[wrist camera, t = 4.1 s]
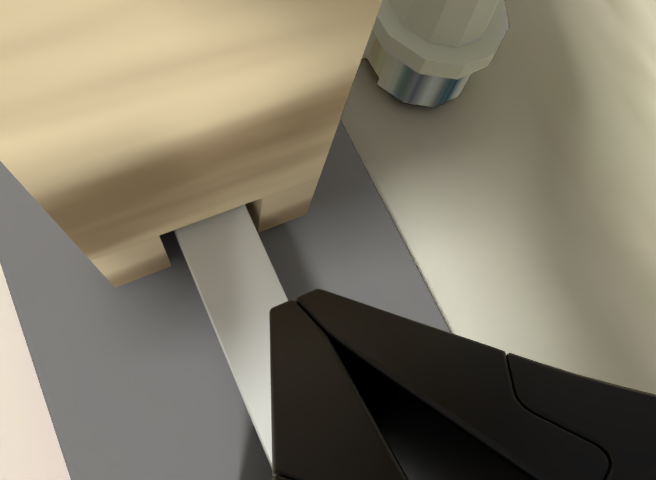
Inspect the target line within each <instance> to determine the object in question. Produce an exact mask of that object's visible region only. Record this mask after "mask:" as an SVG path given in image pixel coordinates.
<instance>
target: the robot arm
mask: <svg viewBox="0 0 656 480" xmlns="http://www.w3.org/2000/svg"><path fill="white" fill-rule="evenodd" d="M269 323H270V376H271V430H272V475H273V478H272V480H656V395H655V394H651V393H647V392H643V391H639V390H635V389H631V388H626V387H622V386H619V385H615V384H611V383H607V382H604V381H600V380H596V379H593V378H589V377H585V376H581V375H578V374H574V373H571V372H568V371H564V370H561V369H558V368H555V367H552V366H548V365H545V364H542V363H539V362H536V361H533V360H530V359H527V358H524V357H521V356H518V355H515V354H512V353H508V354H507V356H506V353H505V352H504V351H503V350H500V349H497V348H494V347H491V346H488V345H485V344H482V343H479V342H476V341H473V340H470V339H467V338H464V337H461V336H458V335H455V334H452V333H449V332H446V331H444V330H441V329H438V328H435V327H432V326H429V325H426V324H423V323H420V322H417V321H414V320H411V319H408V318H405V317H402V316H399V315H396V314H393V313H390V312H387V311H384V310H382V309H379V308H376V307H373V306H370V305H367V304H364V303H361V302H358V301H355V300H352V299H349V298H346V297H343V296H340V295H337V294H334V293H331V292H328V291H325V290H322V289H314V290H312V291H310V292H307V293H305V294H303V295H300V296H298V297H297V298H296V300H295V301H294V300H289V301H286V302H284V303H282V304H279V305H277V306H275V307H273V308H271V309H270V312H269Z"/></svg>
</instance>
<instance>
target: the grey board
mask: <svg viewBox="0 0 656 480" xmlns="http://www.w3.org/2000/svg"><path fill="white" fill-rule="evenodd" d="M160 239H161V241H162V244H163V246H164V249H165V251H166V254H167V256H168V259H169V261H170V264H171V267H168V268H165V269H163V270H160V271H158V272H155V273H152V274H150V275H147V276H145V277H142V278H139V279H137V280H134V281H132V282H129V283H126V284H124V285H121V286H119V287H116V288H115V287H114V286H113V285H112V284H111V283H110V282H109V280H108V279H107V278H106V277H105V276H104V275H103V274H102V273H101V272H100V271H99V269H98V268H97V267H96V266H95V265H94V264H93V263H92V262H91V261H90V259H89V258H88V257H87V256H86V255H85V254H84V253H83V252H82V251H81V250H80V248H79V247H78V246H77V245H76V244H75V243H74V242H73V241H72V240H71V238H70V237H69V236H68V235H67V234H66V233H65V232H64V231H63V230H62V229H61V227H60V226H59V225H58V224H57V223H56V222H55V221H54V220H53V219H52V217H51V216H50V215H49V214H48V213H47V212H46V211H45V210H44V209H43V208H42V206H41V205H40V204H39V203H38V202H37V201H36V200H35V199H34V198H33V197H32V195H31V194H30V193H29V192H28V191H27V190H26V189H25V188H24V187H23V185H22V184H21V183H20V182H19V181H18V180H17V179H16V178H15V177H14V176H13V174H12V173H11V172H10V171H9V170H8V169H7V168H6V167H5V166H4V164H3V163H2V162H1V161H0V263H1V266H2V269H3V272H4V275H5V278H6V281H7V284H8V288H9V291H10V294H11V297H12V300H13V303H14V306H15V309H16V312H17V315H18V318H19V321H20V324H21V327H22V331H23V334H24V337H25V340H26V343H27V346H28V349H29V352H30V355H31V358H32V361H33V364H34V367H35V370H36V374H37V377H38V380H39V383H40V386H41V389H42V392H43V395H44V398H45V401H46V404H47V407H48V410H49V413H50V417H51V420H52V423H53V426H54V429H55V432H56V435H57V438H58V441H59V444H60V447H61V450H62V453H63V456H64V460H65V463H66V466H67V469H68V472H69V475H70V478H71V480H272V478H273V475H272V430H271V376H270V323H269V312H270V309H271V308H273V307H275V306H277V305H279V304H282V303H284V302H286V301H289V300H294V301H295V300H296V298H297V297H298V296H300V295H303V294H305V293H307V292H310V291H312V290H314V289H322V290H325V291H328V292H331V293H334V294H337V295H340V296H343V297H346V298H349V299H352V300H355V301H358V302H361V303H364V304H367V305H370V306H373V307H376V308H379V309H382V310H384V311H387V312H390V313H393V314H396V315H399V316H402V317H405V318H408V319H411V320H414V321H417V322H420V323H423V324H426V325H429V326H432V327H435V328H438V329H441V330H444V331H446V332H449V333H450V331H449V329H448V327H447V325H446V323H445V321H444V319H443V317H442V315H441V313H440V311H439V309H438V307H437V306H436V304H435V302H434V300H433V298H432V296H431V294H430V292H429V290H428V288H427V286H426V284H425V282H424V280H423V279H422V277H421V275H420V273H419V271H418V269H417V267H416V265H415V263H414V261H413V259H412V257H411V255H410V253H409V251H408V250H407V248H406V246H405V244H404V242H403V240H402V238H401V236H400V234H399V232H398V230H397V228H396V226H395V224H394V222H393V221H392V219H391V217H390V215H389V213H388V211H387V209H386V207H385V205H384V203H383V201H382V199H381V197H380V195H379V193H378V192H377V190H376V188H375V186H374V184H373V182H372V180H371V178H370V176H369V174H368V172H367V170H366V168H365V166H364V164H363V163H362V161H361V159H360V157H359V155H358V153H357V151H356V149H355V147H354V145H353V143H352V141H351V139H350V137H349V135H348V134H347V132H346V130H345V128H344V126H343V124H342V122H341V120H340V121H339V124H338V127H337V130H336V132H335V135H334V138H333V141H332V144H331V147H330V149H329V152H328V155H327V158H326V161H325V163H324V166H323V169H322V172H321V175H320V178H319V180H318V183H317V186H316V189H315V192H314V194H313V197H312V200H311V203H310V206H309V209H308V211H307V214H306V215H303V216H301V217H298V218H295V219H293V220H290V221H288V222H285V223H282V224H280V225H277V226H275V227H272V228H269V229H267V230H264V231H262V232H259V233H258V232H257V229H256V227H255V225H254V223H253V221H252V218H251V216H250V214H249V212H248V209H247V207H246V205H245V204H244V205H241V206H239V207H236V208H233V209H231V210H228V211H225V212H222V213H220V214H217V215H214V216H211V217H209V218H206V219H203V220H201V221H198V222H195V223H192V224H190V225H187V226H184V227H181V228H179V229H176V230H173V231H170V232H168V233H165V234H162V235H160Z"/></svg>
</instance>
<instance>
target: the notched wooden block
mask: <svg viewBox="0 0 656 480" xmlns="http://www.w3.org/2000/svg"><path fill="white" fill-rule="evenodd" d="M381 3H382V0H0V161H1V162H2V163H3V164H4V166H5V167H6V168H7V169H8V170H9V171H10V172H11V173H12V174H13V176H14V177H15V178H16V179H17V180H18V181H19V182H20V183H21V184H22V185H23V187H24V188H25V189H26V190H27V191H28V192H29V193H30V194H31V195H32V197H33V198H34V199H35V200H36V201H37V202H38V203H39V204H40V205H41V206H42V208H43V209H44V210H45V211H46V212H47V213H48V214H49V215H50V216H51V217H52V219H53V220H54V221H55V222H56V223H57V224H58V225H59V226H60V227H61V229H62V230H63V231H64V232H65V233H66V234H67V235H68V236H69V237H70V238H71V240H72V241H73V242H74V243H75V244H76V245H77V246H78V247H79V248H80V250H81V251H82V252H83V253H84V254H85V255H86V256H87V257H88V258H89V259H90V261H91V262H92V263H93V264H94V265H95V266H96V267H97V268H98V269H99V271H100V272H101V273H102V274H103V275H104V276H105V277H106V278H107V279H108V280H109V282H110V283H111V284H112V285H113V286H114V287H115V288H116V287H119V286H121V285H124V284H126V283H129V282H132V281H134V280H137V279H139V278H142V277H145V276H147V275H150V274H152V273H155V272H158V271H160V270H163V269H165V268H168V267H171V264H170V261H169V259H168V256H167V254H166V251H165V249H164V246H163V244H162V241H161V239H160V235H162V234H165V233H168V232H170V231H173V230H176V229H179V228H181V227H184V226H187V225H190V224H192V223H195V222H198V221H201V220H203V219H206V218H209V217H211V216H214V215H217V214H220V213H222V212H225V211H228V210H231V209H233V208H236V207H239V206H241V205H244V204H245V205H246V207H247V209H248V212H249V214H250V216H251V218H252V221H253V223H254V225H255V227H256V229H257V232H258V233H259V232H262V231H264V230H267V229H269V228H272V227H275V226H277V225H280V224H282V223H285V222H288V221H290V220H293V219H295V218H298V217H301V216H303V215H306V214H307V211H308V209H309V206H310V203H311V200H312V197H313V194H314V192H315V189H316V186H317V183H318V180H319V178H320V175H321V172H322V169H323V166H324V163H325V161H326V158H327V155H328V152H329V149H330V147H331V144H332V141H333V138H334V135H335V132H336V130H337V127H338V124H339V121H340V118H341V116H342V113H343V110H344V107H345V104H346V101H347V99H348V96H349V93H350V90H351V87H352V84H353V82H354V79H355V76H356V73H357V70H358V68H359V65H360V62H361V59H362V56H363V53H364V51H365V48H366V45H367V42H368V39H369V37H370V34H371V31H372V28H373V25H374V22H375V20H376V17H377V14H378V11H379V8H380V5H381Z"/></svg>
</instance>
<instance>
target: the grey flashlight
mask: <svg viewBox="0 0 656 480" xmlns="http://www.w3.org/2000/svg"><path fill="white" fill-rule="evenodd" d="M508 28H509V22H508V17H507V11H506V5H505V0H382V3H381V5H380V8H379V11H378V14H377V17H376V20H375V22H374V25H373V28H372V31H371V34H370V37H369V39H368V42H367V45H366V48H365V51H364V53H363V56H362V58H365V59H368V60H369V62H370V64H371V65H372V67H373V69H374V70H375V72H376V74H377V75H378V77H379V80H378V83H377V85H378V86H380V87H381V88H383V89H384V90H386V91H387V92H389V93H390V94H392V95H393V96H395V97H396V98H397V99H399V100H400V101H402V102H403V103H408V104H415V105H422V106H429V107H436V106H438V105H440V104H443V103H445V102H447V101H450V100H452V99H454V98H456V97H459V95H460V93H461V91H462V90H463V88H464V86H465V84H466V83H467V81H468V79H469V77H470V76H471V74H472V73H474V72H476V71H479V70H481V69H483V68H486V67H488V65H489V63H490V62H491V60H492V58H493V57H494V55H495V53H496V51H497V49H498V48H499V46H500V44H501V42H502V40H503V38H504V36H505V34H506V32H507V30H508Z"/></svg>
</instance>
